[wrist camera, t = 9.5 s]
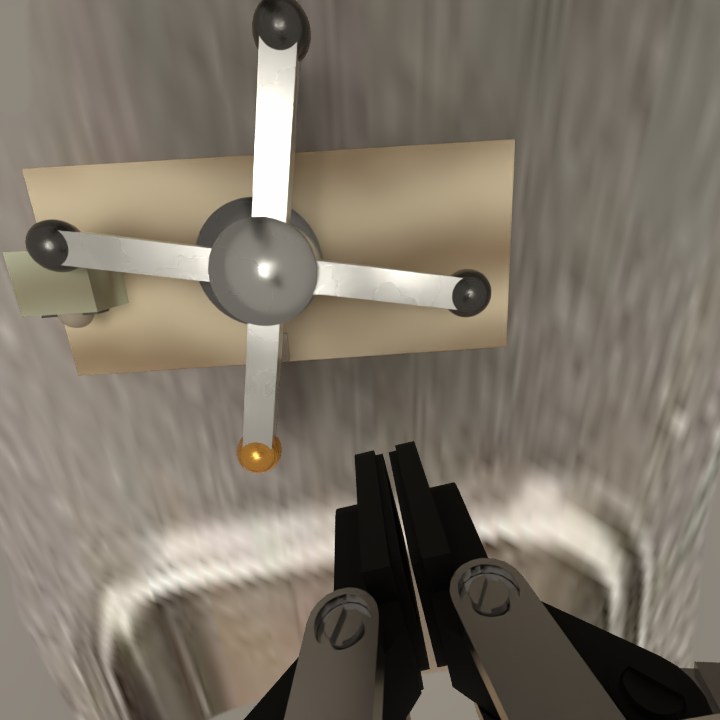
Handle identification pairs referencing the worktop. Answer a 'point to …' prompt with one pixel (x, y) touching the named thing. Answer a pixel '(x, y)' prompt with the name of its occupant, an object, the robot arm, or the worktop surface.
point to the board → (330, 224)
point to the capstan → (261, 244)
